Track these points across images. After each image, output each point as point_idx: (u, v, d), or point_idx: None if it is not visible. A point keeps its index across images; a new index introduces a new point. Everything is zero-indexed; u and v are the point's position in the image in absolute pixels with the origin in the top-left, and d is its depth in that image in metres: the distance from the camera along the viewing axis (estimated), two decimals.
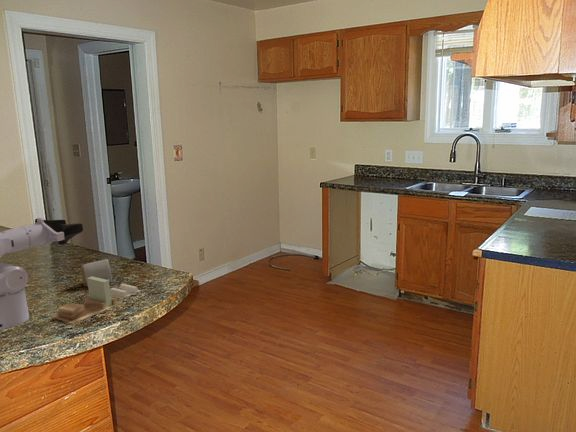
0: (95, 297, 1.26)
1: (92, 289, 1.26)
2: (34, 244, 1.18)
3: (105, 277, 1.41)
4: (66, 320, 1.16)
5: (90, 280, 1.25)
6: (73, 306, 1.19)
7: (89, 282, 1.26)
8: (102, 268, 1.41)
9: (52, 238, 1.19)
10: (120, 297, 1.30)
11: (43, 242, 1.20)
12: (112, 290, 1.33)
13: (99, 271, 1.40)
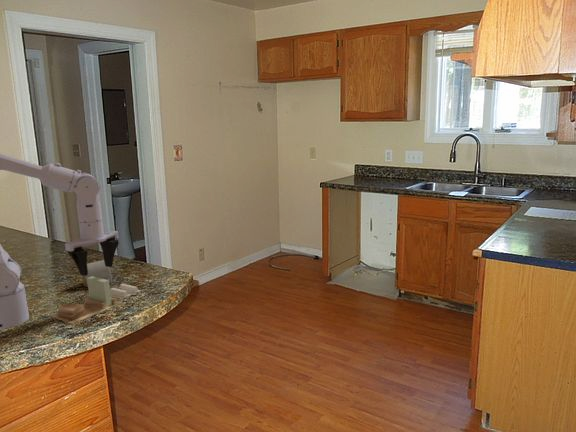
0: (95, 297, 1.26)
1: (92, 289, 1.26)
2: (79, 226, 1.21)
3: (105, 277, 1.40)
4: (66, 320, 1.16)
5: (90, 280, 1.25)
6: (73, 306, 1.19)
7: (89, 282, 1.26)
8: (102, 269, 1.40)
9: (74, 241, 1.19)
10: (120, 297, 1.30)
11: None
12: (112, 290, 1.33)
13: (99, 271, 1.40)
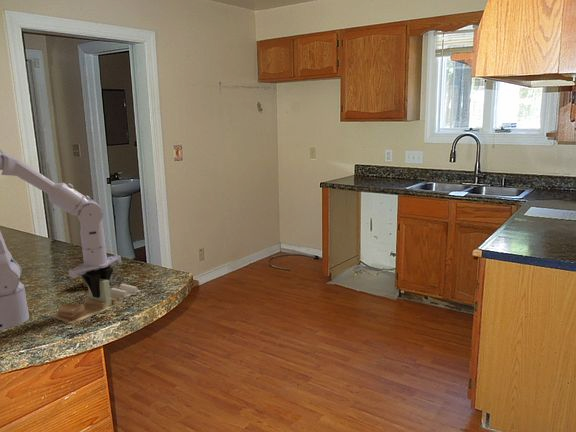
0: (95, 297, 1.26)
1: None
2: None
3: None
4: (66, 320, 1.16)
5: None
6: (73, 306, 1.19)
7: None
8: None
9: (78, 268, 1.20)
10: (120, 297, 1.30)
11: None
12: (112, 290, 1.33)
13: None
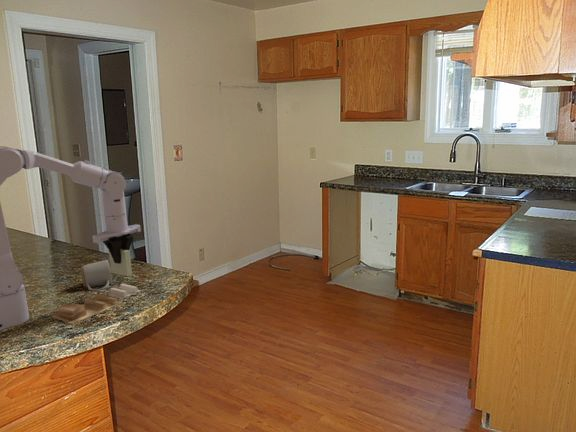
0: (116, 267, 1.32)
1: (113, 260, 1.32)
2: (105, 219, 1.28)
3: (105, 278, 1.40)
4: (66, 320, 1.16)
5: None
6: (73, 306, 1.19)
7: (110, 253, 1.32)
8: (102, 269, 1.40)
9: (101, 234, 1.26)
10: (120, 297, 1.30)
11: (106, 228, 1.29)
12: (112, 290, 1.33)
13: (99, 272, 1.39)
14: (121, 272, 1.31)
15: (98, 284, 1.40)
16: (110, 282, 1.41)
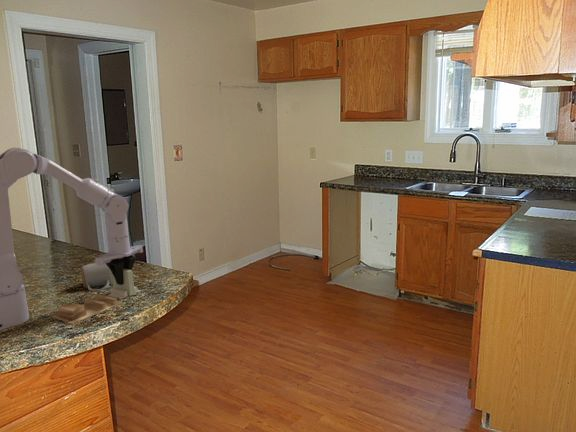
0: (119, 286, 1.33)
1: None
2: None
3: (105, 278, 1.39)
4: (66, 320, 1.16)
5: None
6: (73, 306, 1.19)
7: None
8: (102, 270, 1.39)
9: (103, 256, 1.28)
10: (120, 297, 1.30)
11: (108, 249, 1.30)
12: (112, 290, 1.33)
13: (99, 272, 1.39)
14: None
15: (98, 284, 1.40)
16: (110, 282, 1.41)
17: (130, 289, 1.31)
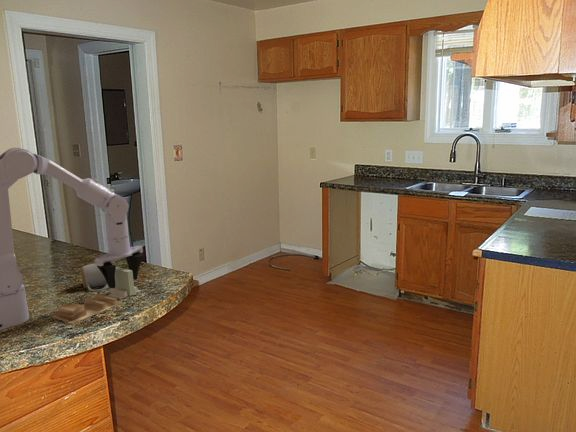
0: (119, 286, 1.33)
1: (116, 279, 1.33)
2: None
3: (105, 279, 1.39)
4: (66, 320, 1.16)
5: None
6: (73, 306, 1.19)
7: None
8: None
9: (103, 256, 1.28)
10: (120, 297, 1.30)
11: None
12: (112, 290, 1.33)
13: (99, 273, 1.39)
14: None
15: (98, 285, 1.39)
16: None
17: (130, 289, 1.31)
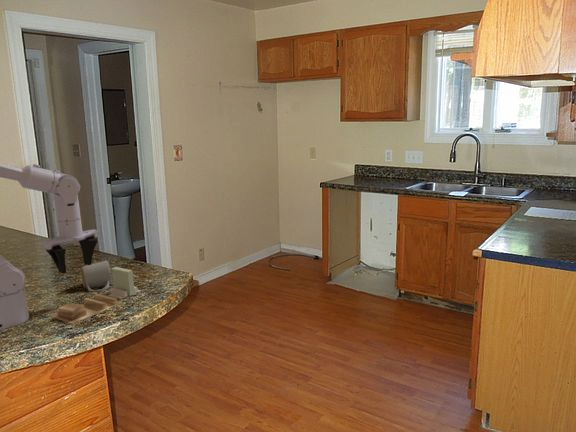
0: (119, 286, 1.33)
1: (116, 279, 1.33)
2: None
3: (105, 279, 1.39)
4: (66, 320, 1.16)
5: (114, 270, 1.33)
6: (73, 306, 1.19)
7: (113, 272, 1.33)
8: (102, 270, 1.39)
9: (53, 240, 1.21)
10: (120, 297, 1.30)
11: None
12: (112, 290, 1.33)
13: (99, 273, 1.38)
14: None
15: (98, 285, 1.39)
16: (110, 283, 1.40)
17: (130, 289, 1.31)
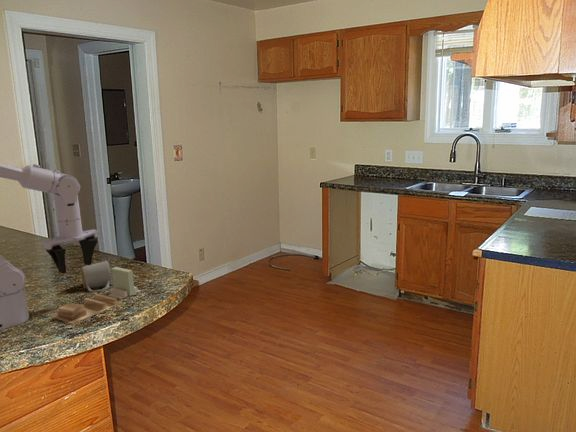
0: (119, 286, 1.33)
1: (116, 279, 1.33)
2: None
3: (105, 279, 1.39)
4: (66, 320, 1.16)
5: (114, 270, 1.33)
6: (73, 306, 1.19)
7: (113, 272, 1.33)
8: (102, 270, 1.39)
9: (53, 240, 1.21)
10: (120, 297, 1.30)
11: None
12: (112, 290, 1.33)
13: (99, 273, 1.38)
14: None
15: (98, 285, 1.39)
16: (110, 283, 1.40)
17: (130, 289, 1.31)
